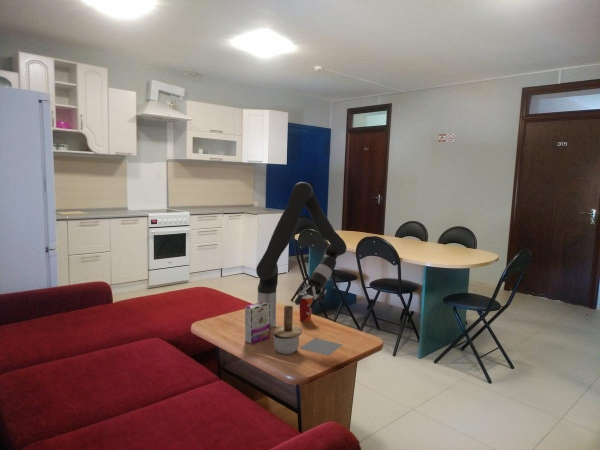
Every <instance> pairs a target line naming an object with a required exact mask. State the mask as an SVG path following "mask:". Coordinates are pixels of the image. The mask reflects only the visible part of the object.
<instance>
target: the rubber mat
mask: <svg viewBox="0 0 600 450" xmlns="http://www.w3.org/2000/svg"><path fill="white" fill-rule="evenodd" d="M342 346H343V343H342V344H341V343H338V342H333V341H329V340H325V339H322V338H321V339H320V338H317V337H314V338H313V339H311V340H309V341H308V342H306V343H305V344H303V345H302V346H299V349H302V350H305V351H309V352H312V353H316V354H320V355H325V356H330V355H331V354H333V352H335V351H336V350H338V349H340V347H342Z"/></svg>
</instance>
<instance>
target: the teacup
mask: <svg viewBox="0 0 600 450" xmlns="http://www.w3.org/2000/svg"><path fill="white" fill-rule="evenodd" d="M272 336H273V347H274V350H276V352H278V353H279V354H281V355H291V354H294V353H296V351H298V350H299V348H300V336H297V337H291V338H286V337H280V336H277V335H275V334H274V333H273V335H272Z"/></svg>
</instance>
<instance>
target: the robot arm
mask: <svg viewBox="0 0 600 450" xmlns="http://www.w3.org/2000/svg"><path fill="white" fill-rule="evenodd" d="M304 207H305V208H306V210H307V212H308V213H309V215H310V217H311V220H312V222H313V225H314V226H315V228H316V230H317V232H318V234H319V236H320V237H321V239H322V240H323V241H327V242H328V243H329V244H328V245H327V247H326V248H325V250H324V253H323V256H322V258H321V261H320V262H319V264H318V265H317V266H316V267H315V268H314V269H315V270H314V271H313V273H312V274H311V276H310V278H309V279H308V283H307V284H305V283H304V282H302V283H301V284H300V285H299V287H298V288H297V290H296V291H295V295H297V297H296V299H295V300H294V304H295V305H296V306H299V303H300V301H301V300H302V298H303V297H305V296H308V295H309V296H313V299H312V303H311V304H310V306H309V307H310V308H311V309H312V310H314V309H315V307H316V306H317V304H318V303H319V302H320V303H323V302H324V299H325V298H326V295H327V293H328V290H327V289H326V288H325V286H326V285H327V283H328V281H329V280H330V277H331V275H332V273H333V272H334V270H335V268H336V265H337V258H338V257H339V256H342V255H344V254H346V252H347V250H348V249H347V244H346V242H345V240H344V239H343V238H342V237H341V236H340V235H339V234H338V233H337V232H336V230H335V229H334V227H333V226H332V224H331V223H330V221H329V218H328V217H327V216H326V214H325V213H324V211H323V209H322V207H321V206H320V203H319V201H318V198H317V195H316V193H315V191H314V188H313V186H312V185H311V183H309V182H305V181H300V182H297V183H296V184H295V185H294V186H293V188H292V191H291V194H290V195H289V200H288V202H287V205H286V207H285V209H284V210H283V213H282V214H281V216H280V218H279V220H278V222H277V224H276V226H275V228H274V231H273V232H272V235H271V237H270V240H269V242H268V245H267V247H266V249H265V252H264V254H263V255H262V257H261V259H260V260H259V262H258V264H257V266H256V270H255V271H256V272H255V273H256V276H258V278H259V282H258V284H257V303H259V302H267V303H270V329H271V328H274V327H275V326H276V325H277V287H278V282H279V280H278V279H279V266H278V261H279V259H280V257H281V255H282V254H283V252H284V251H285V249H286V248H287V247H288V245H289V244H290V243H291V240H292V239H293V237H294V234H295V232H296V230H297V227H298V223H299V219H300V216H301V212H302V210H303V209H304ZM305 292H306V293H305ZM302 294H303V295H302Z"/></svg>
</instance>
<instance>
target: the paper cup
mask: <svg viewBox="0 0 600 450" xmlns="http://www.w3.org/2000/svg"><path fill="white" fill-rule="evenodd" d="M305 293H306V291H305ZM302 295H303V294H302ZM313 300H314V297H313V296H309V295H308V296H305V297H303V298H302V300H301V301H300V303H299V305H298V306H299V320H300V321H301V322H304V323H307V322H311V321H312V312H313V311H312V310H313V309H311V308H310V307H309V306H310V304H311V303H312V301H313Z"/></svg>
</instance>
